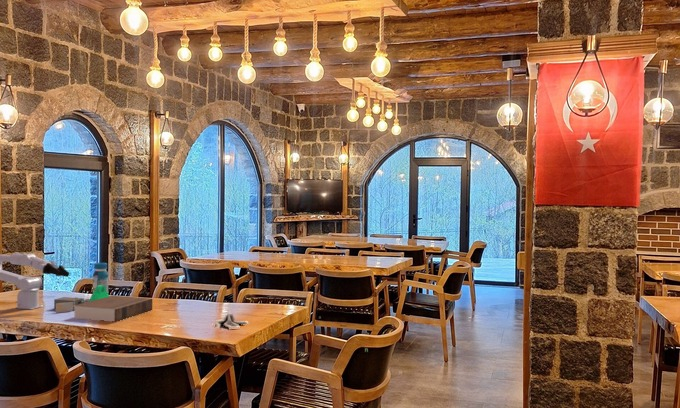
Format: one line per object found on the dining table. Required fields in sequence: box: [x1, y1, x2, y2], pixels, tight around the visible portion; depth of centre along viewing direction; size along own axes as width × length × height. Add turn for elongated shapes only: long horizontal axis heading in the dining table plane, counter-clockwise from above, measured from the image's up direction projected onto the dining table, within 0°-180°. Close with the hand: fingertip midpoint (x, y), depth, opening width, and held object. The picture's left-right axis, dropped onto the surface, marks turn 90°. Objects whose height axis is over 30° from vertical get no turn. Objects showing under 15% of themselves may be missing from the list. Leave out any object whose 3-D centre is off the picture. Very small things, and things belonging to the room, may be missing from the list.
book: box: [73, 295, 153, 323], centre depth 274 cm, size 24×28×6 cm
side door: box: [55, 302, 75, 313], centre depth 278 cm, size 8×1×4 cm, turn 127°
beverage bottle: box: [92, 262, 110, 294], centre depth 315 cm, size 8×8×20 cm
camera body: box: [53, 296, 85, 310], centre depth 286 cm, size 13×7×6 cm, turn 77°
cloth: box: [211, 312, 249, 329], centre depth 253 cm, size 22×19×6 cm
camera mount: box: [88, 285, 110, 302], centre depth 298 cm, size 12×8×10 cm, turn 148°
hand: (63, 273), depth 281 cm, fingers open, 7 cm apart
